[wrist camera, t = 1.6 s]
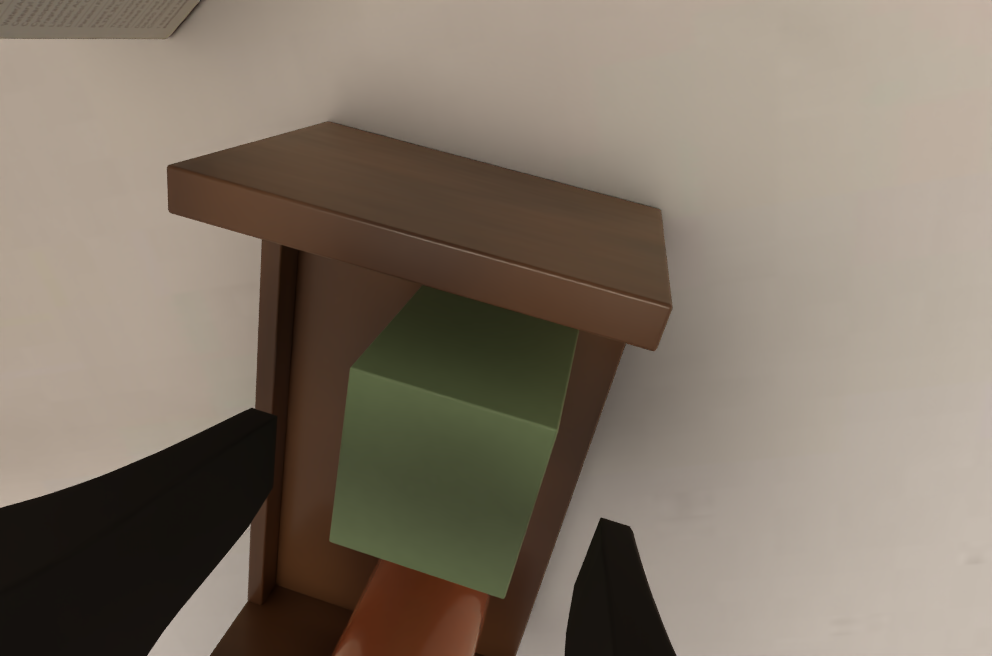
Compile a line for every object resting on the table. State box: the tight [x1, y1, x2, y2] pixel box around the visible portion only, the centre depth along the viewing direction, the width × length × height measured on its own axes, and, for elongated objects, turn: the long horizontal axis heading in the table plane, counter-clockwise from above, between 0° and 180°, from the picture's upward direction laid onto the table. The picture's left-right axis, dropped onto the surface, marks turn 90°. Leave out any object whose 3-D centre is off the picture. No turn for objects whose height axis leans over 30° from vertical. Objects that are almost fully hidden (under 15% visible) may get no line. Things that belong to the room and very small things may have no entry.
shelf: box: [167, 122, 672, 656], centre depth 19 cm, size 10×18×7 cm, turn 168°
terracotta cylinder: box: [331, 558, 491, 656], centre depth 19 cm, size 4×4×6 cm
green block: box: [329, 285, 579, 599], centre depth 16 cm, size 5×4×5 cm
